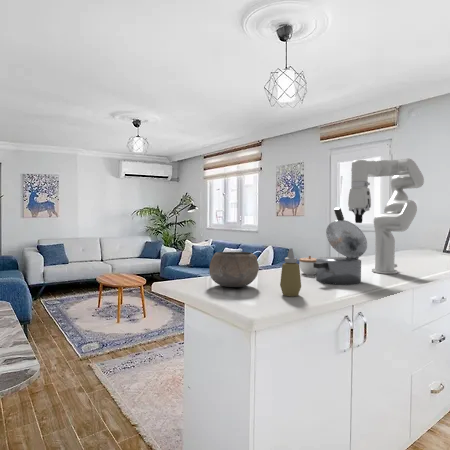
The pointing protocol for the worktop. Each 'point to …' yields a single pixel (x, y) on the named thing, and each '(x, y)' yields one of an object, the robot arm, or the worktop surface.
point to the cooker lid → (346, 237)
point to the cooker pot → (338, 270)
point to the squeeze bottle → (290, 276)
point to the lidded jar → (308, 265)
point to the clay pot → (233, 268)
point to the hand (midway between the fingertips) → (358, 222)
